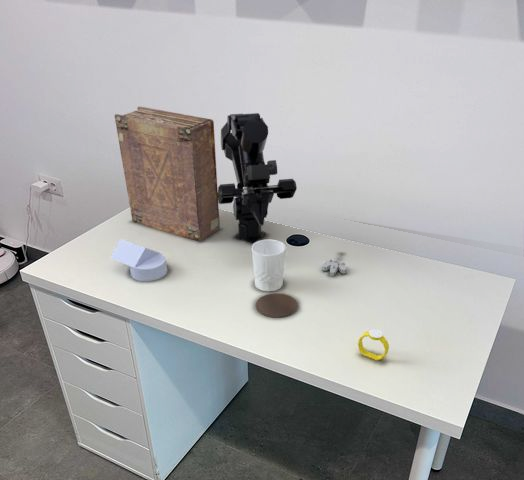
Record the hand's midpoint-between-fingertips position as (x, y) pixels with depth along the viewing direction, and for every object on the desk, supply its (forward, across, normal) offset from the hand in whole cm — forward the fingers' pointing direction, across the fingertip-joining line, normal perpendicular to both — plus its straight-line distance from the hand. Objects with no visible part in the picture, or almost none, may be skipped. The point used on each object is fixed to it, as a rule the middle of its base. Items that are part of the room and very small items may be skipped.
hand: (261, 225), depth 129 cm
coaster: (+21, 0, -5) cm, 21 cm away
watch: (+36, +15, -20) cm, 44 cm away
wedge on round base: (+5, -30, +12) cm, 32 cm away
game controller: (+10, +19, +6) cm, 23 cm away
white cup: (+14, 0, +2) cm, 14 cm away
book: (-12, -20, +29) cm, 37 cm away
